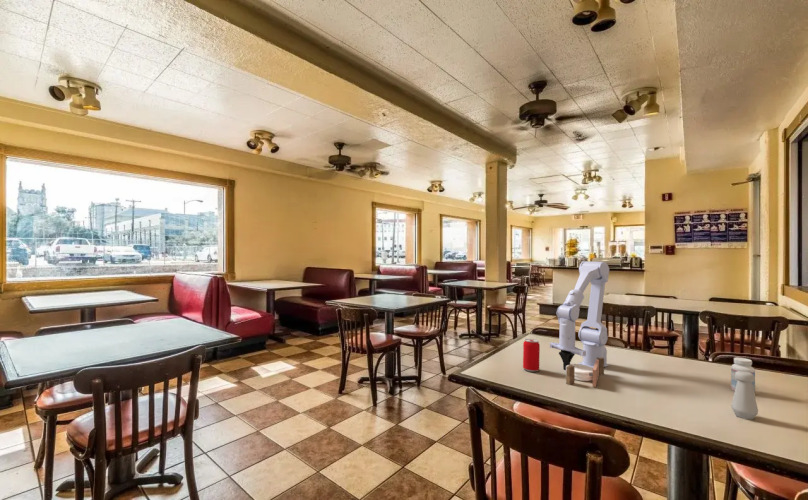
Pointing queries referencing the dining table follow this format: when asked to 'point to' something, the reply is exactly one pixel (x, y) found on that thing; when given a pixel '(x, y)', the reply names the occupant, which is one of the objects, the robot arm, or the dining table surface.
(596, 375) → the door
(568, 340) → the robot arm
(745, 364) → the pill bottle
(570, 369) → the wall frame
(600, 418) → the dining table surface
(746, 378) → the salt shaker
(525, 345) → the beverage can
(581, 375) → the white short cylinder
